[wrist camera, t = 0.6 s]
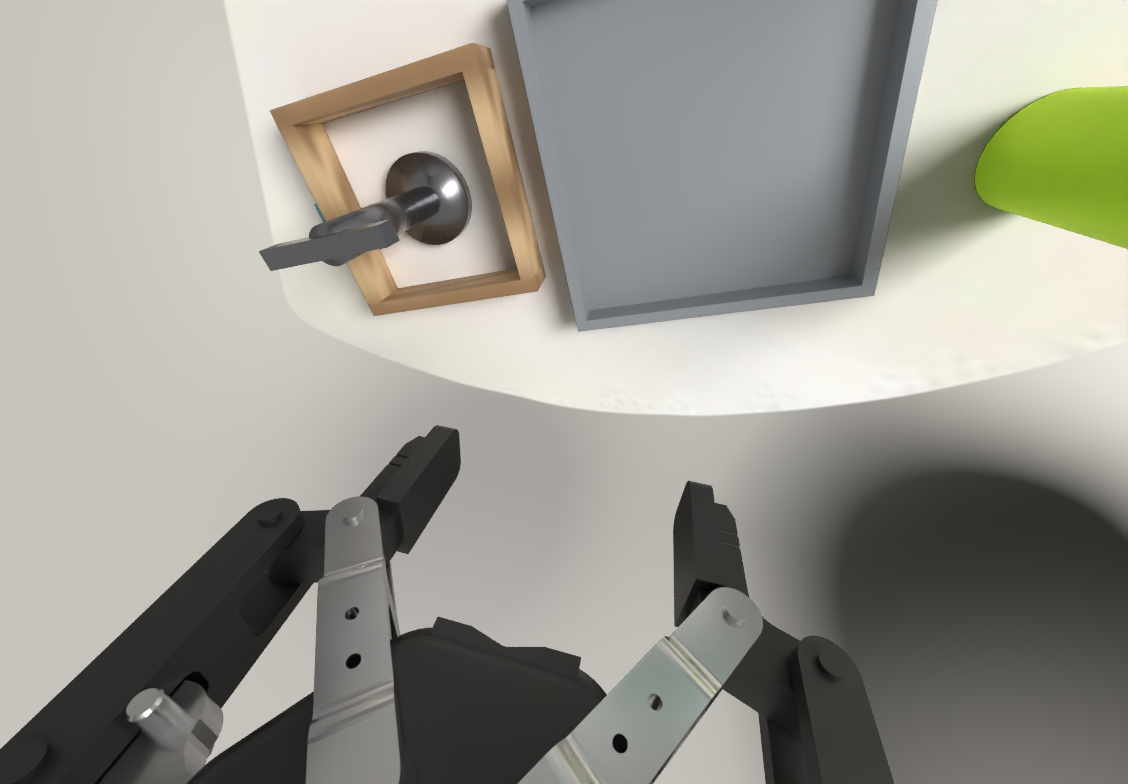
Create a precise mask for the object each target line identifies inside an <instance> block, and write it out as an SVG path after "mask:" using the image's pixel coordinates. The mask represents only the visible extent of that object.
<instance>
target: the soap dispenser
mask: <svg viewBox="0 0 1128 784" xmlns="http://www.w3.org/2000/svg"><path fill="white" fill-rule="evenodd" d="M975 186H976V190H977V193H978V195H979V196H980V198H981V199H982V200H983V201H984V202H985V203H986V204H988V205H990V206H992V207H994V208H997V209H1000V210H1004V211H1007V212H1010V213H1013V214H1016V215H1020V216H1023V217H1026V218H1029V219H1033V220H1036V221H1039V222H1042V223H1046V224H1049V225H1052V226H1055V227H1058V228H1062V229H1065V230H1068V231H1071V232H1075V233H1078V234H1081V235H1084V236H1088V237H1091V238H1094V239H1097V240H1101V241H1104V242H1107V243H1110V244H1113V245H1117V246H1120V247H1123V248H1126V249H1128V86H1121V87H1087V88H1072V89H1066V90H1062V91H1058V92H1055V93H1052V94H1049V95H1047V96H1045V97H1043V98H1040V99H1038V100H1036V101H1035V102H1033V103H1031V104H1029V105H1028V106H1026V107H1025V108H1023V109H1022V110H1020V111H1019V112H1018V113H1016V114H1015V115H1014V116H1013V117H1011V118H1010V119H1009V120H1008V121H1007V122H1006V123H1005V124H1004V125H1003V126H1002V127H1001V128H1000V129H999V130H998V131H997V132H996V133H995V135H994V136H993V137H992V138H991V140H990V141H989V142H988V144H987V145H986V147H985V149H984V150H983V152H982V154H981V156H980V159H979V161H978V164H977V167H976V172H975Z"/></svg>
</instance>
